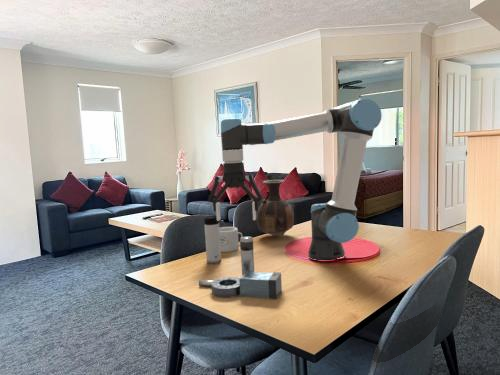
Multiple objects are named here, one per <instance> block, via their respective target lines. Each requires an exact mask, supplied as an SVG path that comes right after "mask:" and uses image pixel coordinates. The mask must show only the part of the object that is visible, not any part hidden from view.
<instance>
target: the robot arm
mask: <svg viewBox="0 0 500 375" xmlns="http://www.w3.org/2000/svg"><path fill="white" fill-rule="evenodd" d="M382 115H383V112H382V110H381V107H380V106H379V104H378V103H377V101H375V100H373V99H370V98H357V99H355V100H353V101H348V102H345V103H343V104H342V105H338V106H336V107H333V108H329V109H327V108H326V109H325V110H324V111H323V112H320V113H314V114H308V115H303V116H298V117H292V118H288V119H282V120H275V121H269V122H259V123H257V122H256V123H243V122H242V119H241V118H224V119H222V120H221V121H220V138H221V139H220V140H221V149H222V150H221V151H222V152H221V153H222V162H224V163H223V164H222V170H223V176H220V175H217V176H215V177H214V183H213V186H212V188H211V191H210V194H209V196H208V198H207V201H208V202H211V203H212V205H213V206H212V208H213V212H215V214H216V215H215V216H217V221H219V222H220V221H221V219H222V217H221V216H222V215H221V203H220V202H218V201H219V200H220V199H221V197H222V196H223V195H224V193H225V192H226V191H227V189H228V188H230V189H233V188H235V189H239V188H241V189H242V190H243V191H244V192H245V193H246V194H247V195H248V197H250V198H251V200H252V203H251V206H252V207H251V208H252V220H253V221H257V212H258V209H259V207H260V205H259V201H263V200H264V196H263V194H262V192H261V190H260V189H259V187H258V185H257V183H256V182H255V179H254V175H253V174H249V175H246V174H245V163H244V162H243V161H244V148H243V146H247V145H249V146H255V145H268V144H273V143H275V141H279V140H280V141H281V140H286V139H293V138H296V137H302V136H308V135H313V134H318V133H319V134H320V133H324V132H325V133H326V132H327V133H328V134H333V133H340V134H341V137H343V141H342V146H341V150H340V155H339V161H338V166H337V171H336V176H335V180H334V187H333V189H332V190H333V191H332V195H331V199H330V200H329V201H328V202H325V203H314V204H312V205H311V208H310V216H311V217H310V218H311V219H310V220H311V222H310V224H311V242H310V246H309V248H308V253H307V254H308V258H309V257H310V258H312V259H316V260H332V259H337V258H340V257H343V256H344V255H345V256H346V252H345V249H344V246H343V243H348V242H350V241H352V240H353V239H354V238H355V237H356V236H357V234H358V233H359V227H360V226H359V225H360V224H359V222H358V219H357V218H356V217H357V212H358V208H357V207H356V204H355V201H356V196H357V192H358V188H359V181H360V178H361V172H362V167H363V162H364V157H365V152H366V148H367V143H368V141H370V140H372V138H373V135H374V131H375V129H376V128H377V127H378V126H380V123H381V121H382ZM246 180H247V181H248V182H249V183H250V186H251V188H252V189H253V191H254V193H255V194H254V193H253V191H252V189H250V188H249V187H248V186H247V184H246V183H245V181H246ZM221 182H223V183H224V185H223V186H222V188H221V189H220V190H219V192H218V193H217V190H218V188H219V186H220V183H221ZM216 193H217V194H216ZM215 195H216V196H215ZM310 258H309V259H310Z"/></svg>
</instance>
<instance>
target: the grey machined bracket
mask: <svg viewBox="0 0 500 375" xmlns="http://www.w3.org/2000/svg"><path fill="white" fill-rule="evenodd" d="M198 286H200V287H211V293H212V296H215V297H217V298H223V299H224V298H235V297H246V298H256V299H257V298H258V299H259V298H260V299H271V300H277V299H278V298H279V296H280V294H281V293H282V291H283V289H282V272H280V271H279V272H275V271H274V272H265V271H264V272H263V271H254V272H249V271H246V272H245V273H244V274H243V275H242V274H241V276H240V277H239V276H224V277H219V278H216V279H214V280H208V279H207V280H206V279H200V280H199V281H198Z"/></svg>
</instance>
